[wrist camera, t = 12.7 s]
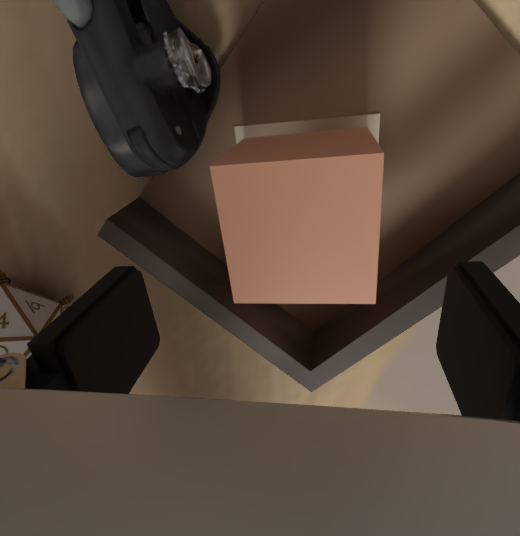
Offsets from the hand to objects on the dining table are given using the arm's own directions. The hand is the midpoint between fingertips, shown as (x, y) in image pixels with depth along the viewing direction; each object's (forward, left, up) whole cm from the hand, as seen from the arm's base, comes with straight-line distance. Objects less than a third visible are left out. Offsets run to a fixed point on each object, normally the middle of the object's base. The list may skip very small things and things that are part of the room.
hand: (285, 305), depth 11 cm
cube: (0, -1, -10) cm, 10 cm away
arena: (0, -2, -10) cm, 10 cm away
